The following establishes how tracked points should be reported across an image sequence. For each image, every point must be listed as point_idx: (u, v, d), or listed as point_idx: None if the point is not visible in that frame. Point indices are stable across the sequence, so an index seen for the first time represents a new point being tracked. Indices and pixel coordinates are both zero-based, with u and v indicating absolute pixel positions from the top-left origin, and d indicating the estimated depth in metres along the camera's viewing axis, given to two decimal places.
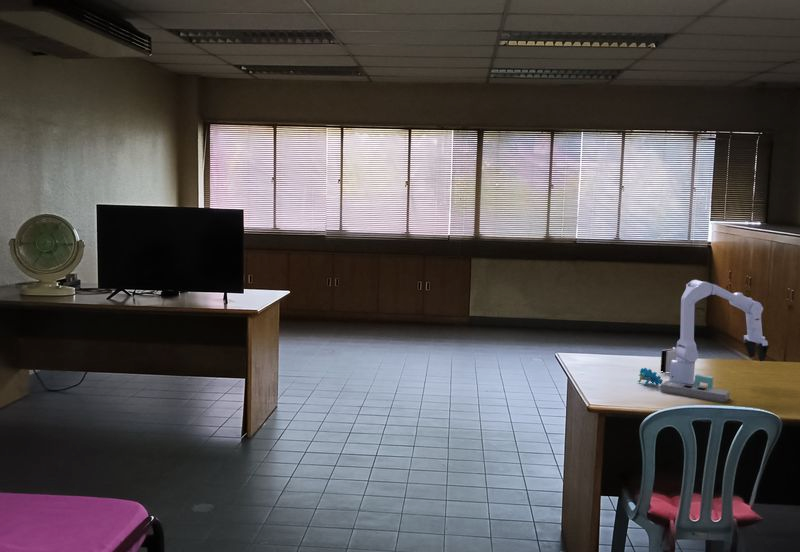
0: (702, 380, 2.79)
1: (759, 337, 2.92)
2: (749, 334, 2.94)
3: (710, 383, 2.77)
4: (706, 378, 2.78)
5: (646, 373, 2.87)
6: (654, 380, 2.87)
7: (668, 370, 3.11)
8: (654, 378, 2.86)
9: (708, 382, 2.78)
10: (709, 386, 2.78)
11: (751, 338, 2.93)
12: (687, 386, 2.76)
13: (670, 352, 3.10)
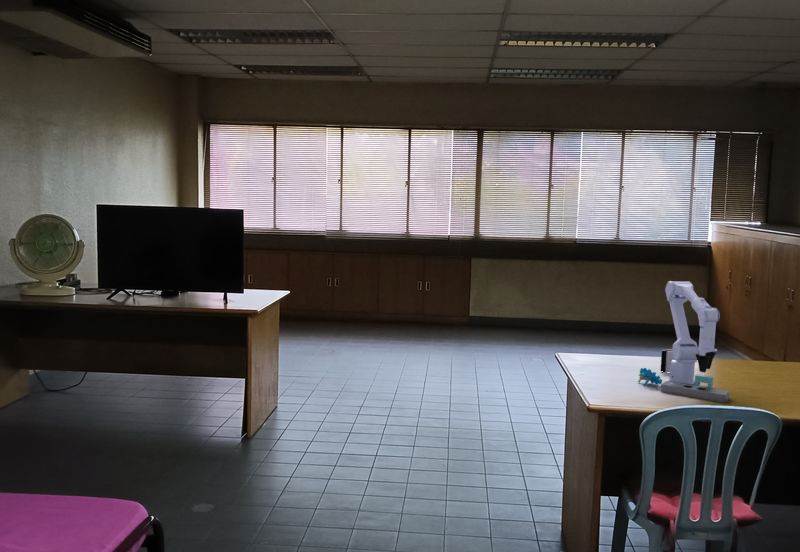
0: (702, 380, 2.79)
1: (705, 347, 2.76)
2: (699, 342, 2.80)
3: (710, 383, 2.77)
4: (706, 378, 2.78)
5: (646, 373, 2.87)
6: (654, 380, 2.87)
7: (668, 370, 3.11)
8: (654, 378, 2.86)
9: (708, 382, 2.78)
10: (709, 386, 2.78)
11: (699, 346, 2.79)
12: (687, 386, 2.76)
13: (670, 352, 3.10)
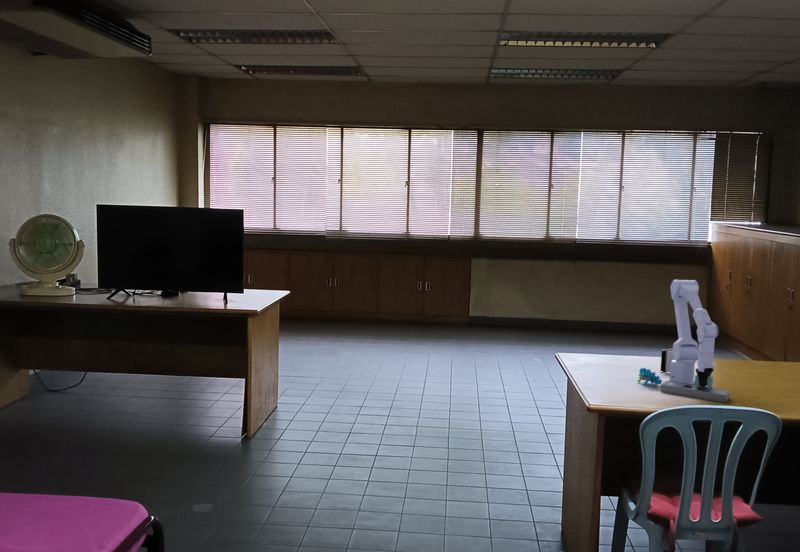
0: None
1: (704, 363, 2.77)
2: (698, 358, 2.80)
3: (710, 383, 2.77)
4: None
5: (645, 373, 2.87)
6: (653, 380, 2.87)
7: (668, 370, 3.11)
8: (653, 378, 2.86)
9: (708, 382, 2.78)
10: (709, 386, 2.78)
11: (698, 362, 2.80)
12: (687, 386, 2.76)
13: (670, 352, 3.10)
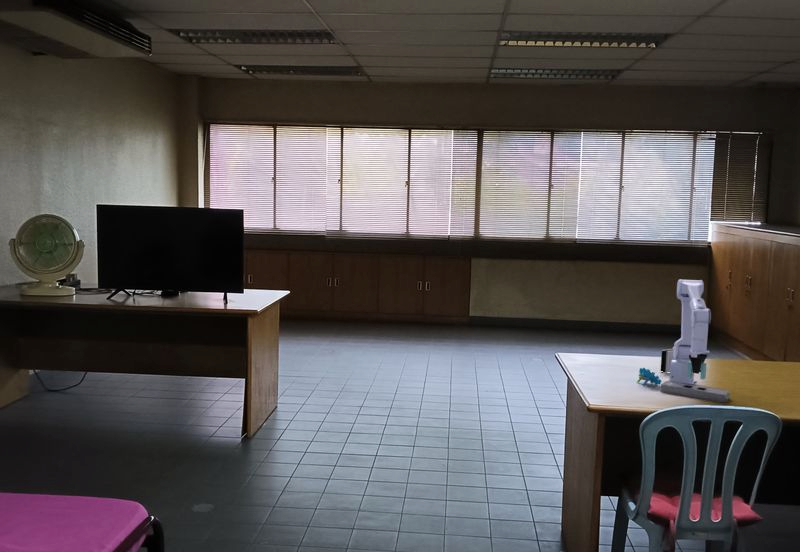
0: None
1: (697, 349, 2.69)
2: (691, 343, 2.73)
3: (703, 370, 2.70)
4: None
5: (645, 373, 2.87)
6: (653, 380, 2.87)
7: (668, 370, 3.11)
8: (653, 378, 2.85)
9: (701, 369, 2.70)
10: (702, 373, 2.70)
11: (691, 348, 2.72)
12: (687, 386, 2.76)
13: (670, 352, 3.10)
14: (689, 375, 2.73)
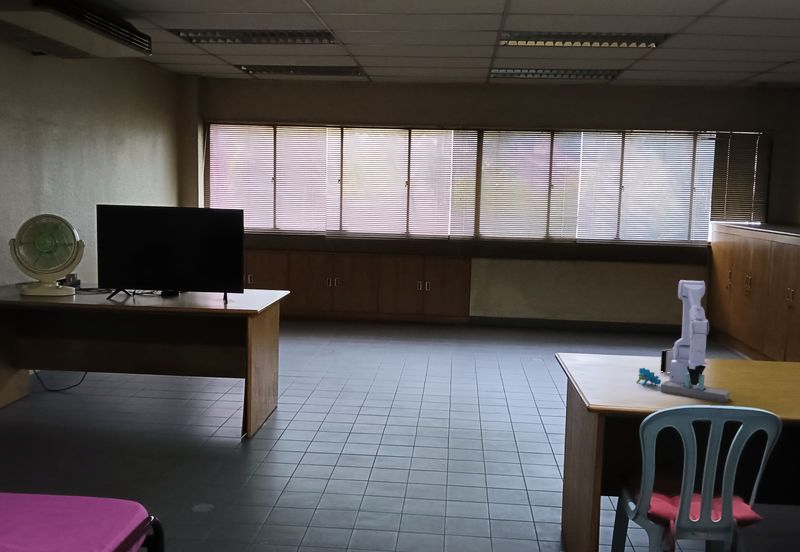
0: None
1: (695, 360, 2.69)
2: (689, 355, 2.72)
3: (701, 381, 2.69)
4: None
5: (645, 373, 2.87)
6: (653, 380, 2.87)
7: (668, 370, 3.11)
8: (652, 378, 2.85)
9: (699, 380, 2.70)
10: (700, 384, 2.70)
11: (689, 359, 2.72)
12: None
13: (670, 352, 3.10)
14: (687, 386, 2.73)
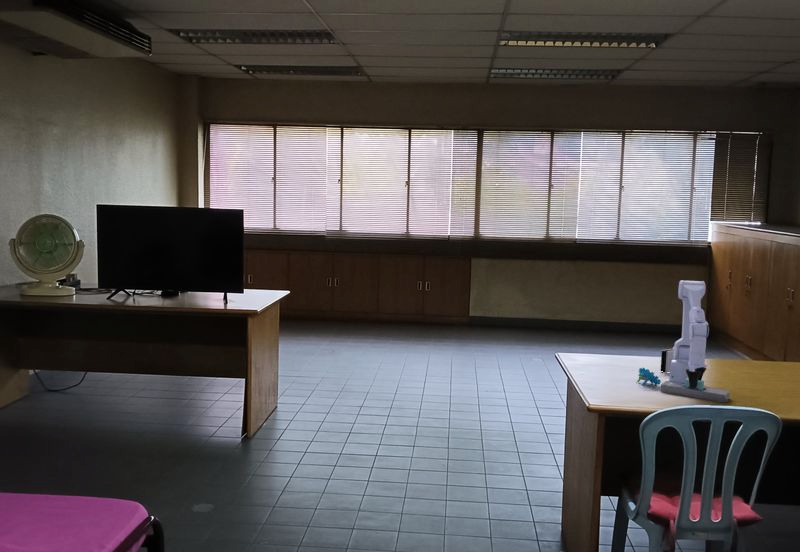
0: None
1: (695, 362, 2.69)
2: (689, 357, 2.72)
3: (701, 387, 2.70)
4: None
5: (644, 373, 2.87)
6: (653, 380, 2.87)
7: (668, 370, 3.11)
8: (652, 378, 2.85)
9: (698, 386, 2.70)
10: None
11: (689, 362, 2.72)
12: None
13: (670, 352, 3.10)
14: None
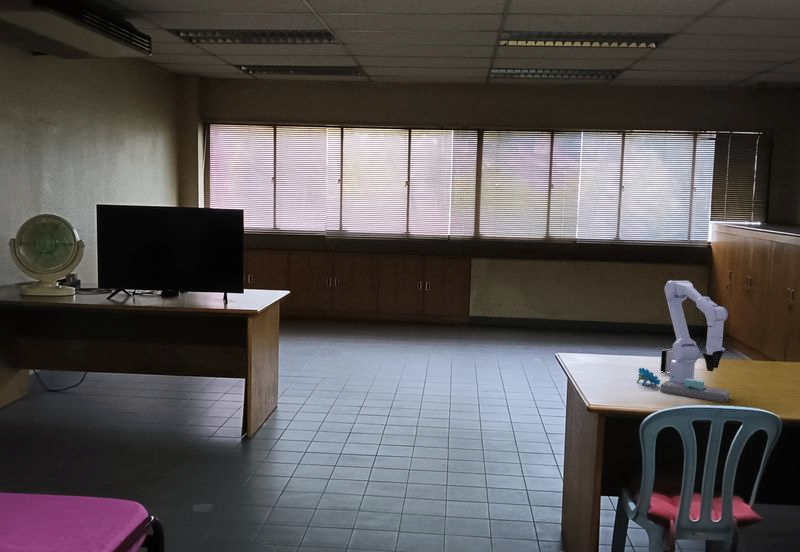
0: (692, 385, 2.71)
1: (713, 346, 2.75)
2: None
3: (701, 387, 2.70)
4: (696, 382, 2.71)
5: (644, 373, 2.87)
6: (652, 380, 2.87)
7: (668, 370, 3.11)
8: (652, 378, 2.85)
9: (698, 386, 2.70)
10: None
11: (706, 345, 2.78)
12: None
13: (670, 352, 3.10)
14: None
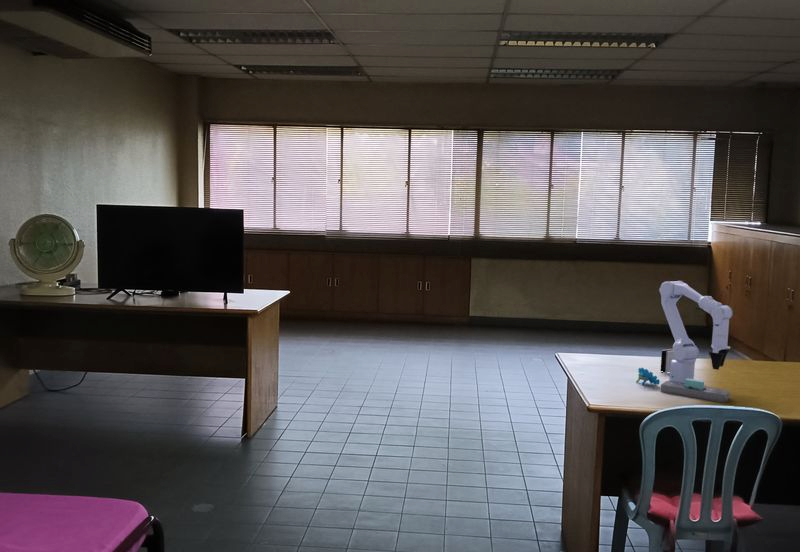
0: (692, 385, 2.71)
1: (718, 344, 2.78)
2: (712, 339, 2.81)
3: (701, 387, 2.70)
4: (696, 382, 2.70)
5: (644, 373, 2.87)
6: (652, 380, 2.87)
7: (668, 370, 3.11)
8: (651, 378, 2.85)
9: (698, 386, 2.70)
10: None
11: (712, 344, 2.80)
12: None
13: (670, 352, 3.10)
14: None
